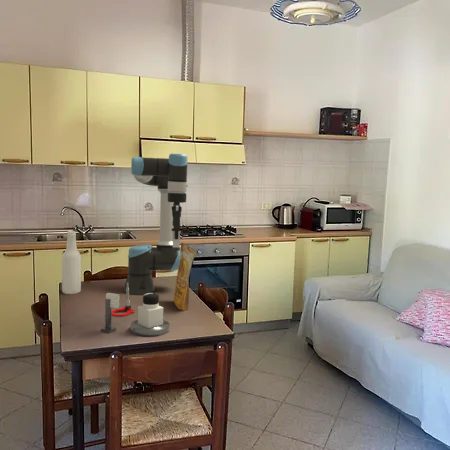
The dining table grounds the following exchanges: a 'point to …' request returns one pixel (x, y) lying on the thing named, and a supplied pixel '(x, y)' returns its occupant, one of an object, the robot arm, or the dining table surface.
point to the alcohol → (71, 266)
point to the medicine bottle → (150, 311)
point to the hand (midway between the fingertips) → (175, 244)
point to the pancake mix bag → (183, 277)
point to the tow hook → (126, 308)
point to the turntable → (149, 329)
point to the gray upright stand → (110, 302)
